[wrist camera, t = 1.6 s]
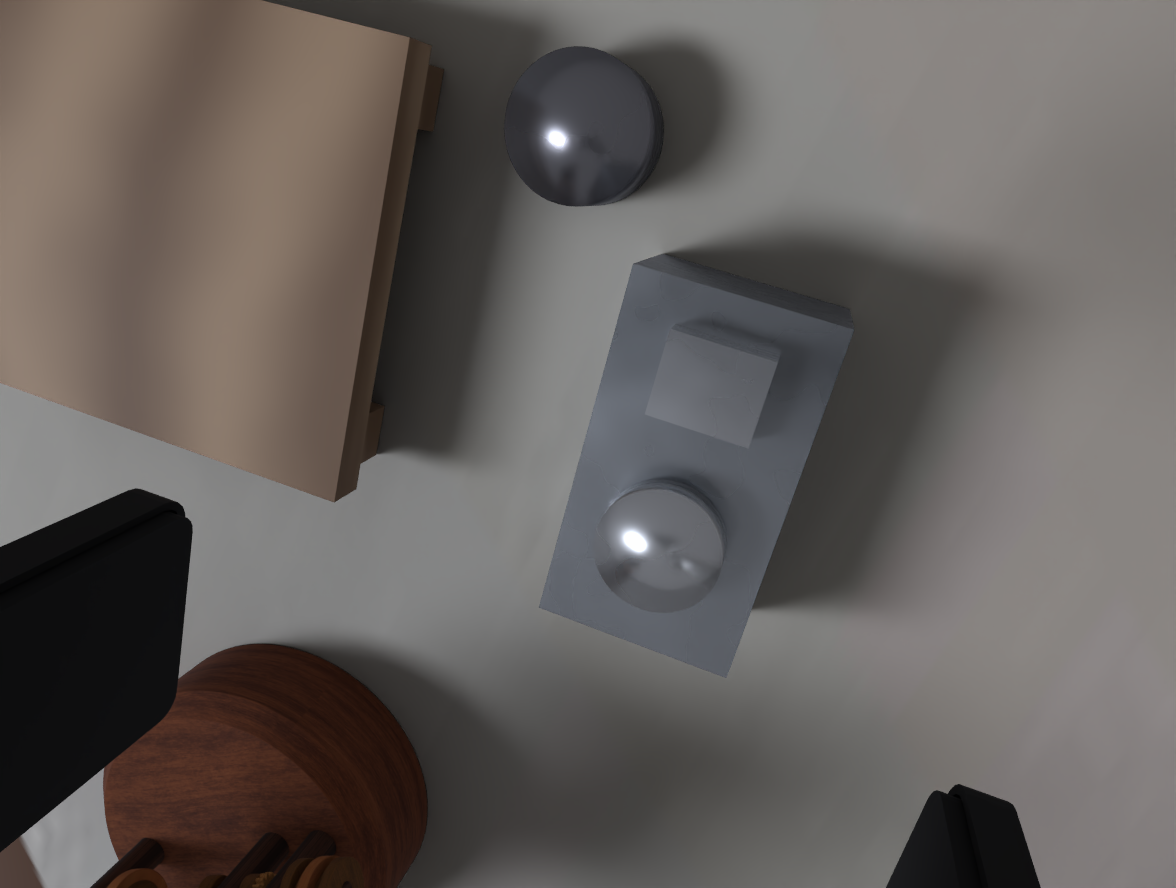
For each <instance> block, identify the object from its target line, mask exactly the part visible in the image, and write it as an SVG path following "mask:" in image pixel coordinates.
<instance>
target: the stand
mask: <svg viewBox="0 0 1176 888" xmlns="http://www.w3.org/2000/svg"><path fill="white" fill-rule="evenodd" d="M431 47H432V46H431V45H428V44H426V43H423V42H421V41H418V40H415V39H413V38H410V37H406V36H402V35H398V34H394V33H390V32H386V31H382V30H378V29H374V28H370V27H366V26H362V25H358V24H354V23H350V22H346V21H342V20H338V19H334V18H330V17H326V16H322V15H318V14H314V13H310V12H306V11H302V10H299V9H295V8H291V7H287V6H283V5H279V4H275V3H271V2H267V1H263V0H0V383H2V384H5V385H8V386H10V387H13V388H16V389H19V390H22V391H24V392H27V393H30V394H33V395H36V396H38V397H41V398H44V399H47V400H50V401H52V402H55V403H58V404H61V405H64V406H66V407H69V408H72V409H75V410H77V411H80V412H83V413H86V414H89V415H91V416H94V417H97V418H100V419H103V420H105V421H108V422H111V423H114V424H117V425H119V426H122V427H125V428H128V429H131V430H133V431H136V432H139V433H142V434H145V435H147V436H150V437H153V438H156V439H158V440H161V441H164V442H167V443H170V444H172V445H175V446H178V447H181V448H184V449H186V450H189V451H192V452H195V453H198V454H200V455H203V456H206V457H209V458H212V459H214V460H217V461H220V462H223V463H226V464H228V465H231V466H234V467H237V468H239V469H242V470H245V471H248V472H251V473H253V474H256V475H259V476H262V477H265V478H267V479H270V480H273V481H276V482H279V483H281V484H284V485H287V486H290V487H293V488H295V489H298V490H301V491H304V492H307V493H309V494H312V495H315V496H318V497H320V498H323V499H326V500H329V501H332V502H336V501H337V500H339V499H341V498H342V497H344V496H345V495H347V494H349V493H350V492H352V491H354V490H355V489H356V487H357V481H358V475H359V470H360V464H361V463H363V462H364V461H366V460H368V459H370V458H371V457H373V456H375V455H376V453H377V447H378V441H379V436H380V430H381V424H382V419H383V413H384V407H385V406H382V405H379V404H376V403H373V402H371V399H372V393H373V387H374V382H375V376H376V370H377V364H378V358H379V352H380V346H381V341H382V335H383V329H384V323H385V317H386V311H387V305H388V300H389V294H390V288H391V282H392V276H393V270H394V264H395V259H396V253H397V247H398V241H399V235H400V229H401V223H402V217H403V212H404V206H405V200H406V194H407V188H408V182H409V176H410V171H411V165H412V159H413V153H414V147H415V141H416V135H417V130H418V129H420V130H426V131H432V132H433V130H434V124H435V118H436V113H437V107H438V101H439V96H440V90H441V84H442V79H443V73H444V69H441V68H438V67H435V66H432V65H429V59H430V53H431Z"/></svg>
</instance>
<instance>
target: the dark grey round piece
mask: <svg viewBox="0 0 1176 888" xmlns="http://www.w3.org/2000/svg"><path fill="white" fill-rule="evenodd" d="M504 131H505V141H506V146H507V151H508V154H509V157H510V160H511V162H512V164H513V166H514V168H515V170H516V171H517V173H518V174H519V176H520V177H521V179H522V180H523V181H524V182H525V183H526V185H527V186H528V187H530V188H531V189H532V190H533V191H534V192H535V193H537V194H538V195H540V196H541V197H543V198H545V199H547V200H549V201H551V202H554V203H557V204H561V205H566V206H597V205H606V204H611V203H614V202H617V201H620V200H622V199H624V198H626V197H627V196H629V195H631V194H632V193H633V192H635V191H636V190H637V189H638V188H639V187H640V186H641V185H643V183H644V182H645V181H646V180H647V179H648V177H649V176H650V174H651V173H652V171H653V170H654V168H655V166H656V163H657V161H658V159H659V156H660V153H661V149H662V144H663V134H664V128H663V118H662V112H661V109H660V105H659V102H658V100H657V98H656V96H655V94H654V92H653V90H652V89H651V87H650V86H649V84H648V83H647V82H646V81H645V80H644V78H643V77H641V76H640V75H639V74H638V73H637V72H636V71H634V70H633V69H631V68H630V67H629V66H627V65H625V64H624V63H622V62H621V61H619V60H618V59H616V58H615V57H613V56H612V55H610V54H608V53H606V52H604V51H601V50H598V49H595V48H589V47H577V46H574V47H566V48H562V49H558V50H555V51H553V52H550V53H548V54H546V55H544V56H543V57H541V58H540V59H538V60H537V61H536V62H534V63H533V64H532V65H531V66H530V67H529V68H528V69H527V70H526V71H525V72H524V73H523V74H522V76H521V77H520V79H519V80H518V81H517V83H516V85H515V87H514V89H513V91H512V93H511V96H510V98H509V101H508V105H507V109H506V114H505V127H504Z"/></svg>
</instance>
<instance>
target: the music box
mask: <svg viewBox="0 0 1176 888" xmlns="http://www.w3.org/2000/svg"><path fill="white" fill-rule="evenodd" d="M103 791H104V805H105V816H106V822H107V827H108V832H109V835H110V839H111V842H112V845H113V847H114V850H115V853H116V855H117V857H118V859H119V861H118V862H117V863H116V864H115V865H114V866H113V867H112V868H111V869H110V870H108V871H107V872H106V873H105V874H104V875H103V876H102V877H101V878H100V879H99V880H98V881H97V882H96V883H95V884H93V885H92V886H91V887H90V888H397V886H398V885H399V883H400V881H401V880H402V878H403V877H404V875H405V873H406V872H407V870H408V869H409V867H410V865H411V864H412V862H413V861H414V859H415V857H416V855H417V854H418V851H419V849H420V847H421V844H422V841H423V838H424V834H425V830H426V824H427V794H426V787H425V782H424V778H423V774H422V771H421V767H420V764H419V762H418V759H417V757H416V754H415V752H414V750H413V748H412V746H411V744H410V742H409V740H408V738H407V736H406V735H405V733H404V731H403V730H402V728H401V727H400V725H399V724H398V722H397V721H396V719H395V718H394V717H393V715H392V714H391V713H390V712H389V710H388V709H387V708H386V707H385V706H384V705H383V703H382V702H381V701H380V700H379V699H378V698H377V697H376V696H375V695H374V694H373V693H372V692H371V691H370V690H368V689H367V688H366V687H365V686H364V685H363V684H361V683H360V682H359V681H358V680H356V679H355V678H354V677H352V676H351V675H350V674H348V673H347V672H345V671H344V670H342V669H340V668H339V667H337V666H335V665H333V664H332V663H330V662H328V661H326V660H324V659H322V658H319V657H317V656H315V655H312V654H310V653H307V652H304V651H301V650H297V649H294V648H289V647H285V646H278V645H269V644H251V645H242V646H237V647H233V648H229V649H226V650H223V651H220V652H218V653H216V654H214V655H212V656H210V657H208V658H206V659H205V660H204V661H202V662H201V663H199V664H198V665H197V666H195V667H194V668H193V669H191V670H190V671H188V672H187V673H186V674H184V675H183V676H182V677H180V678H179V679H178V685H177V693H176V698H175V700H174V703H173V705H172V707H171V709H170V710H169V712H168V713H167V715H166V716H165V717H164V718H163V719H162V720H161V721H160V722H159V723H158V724H157V725H156V726H154V727H153V728H152V729H151V730H150V731H148V732H147V733H146V734H145V735H143V736H142V737H141V738H140V739H138V740H137V741H136V742H135V743H134V744H132V745H131V746H130V747H129V748H127V749H126V750H125V751H124V752H123V753H121V754H120V755H119V756H118V757H116V758H115V759H114V760H113V761H112V762H110V763H109V764H108V765H107V766H105V768H104V777H103Z"/></svg>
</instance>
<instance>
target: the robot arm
mask: <svg viewBox="0 0 1176 888" xmlns="http://www.w3.org/2000/svg"><path fill="white" fill-rule="evenodd" d="M192 533H193V531H192V523H191V521H190V520H189V519H188V518H186V517H185V512H184V509H183V506H181V505H180V504H179V503H178V502H175V501H172V500H170V499H167V498H164V497H161V496H159V495H156V494H153V493H150V492H148V491H145V490H142V489H132V490H128V491H126V492H124V493H121V494H119V495H117V496H115V497H112V498H110V499H108V500H106V501H103V502H101V503H99V504H97V505H94V506H92V507H90V508H88V509H85V510H83V511H81V512H79V513H76V514H74V515H72V516H69V517H67V518H65V519H63V520H60V521H58V522H56V523H54V524H51V525H49V526H47V527H45V528H42V529H40V530H38V531H36V532H33V533H31V534H29V535H27V536H24V537H22V538H20V539H18V540H15V541H13V542H11V543H8V544H6V545H4V546H2V547H0V852H1V851H2V850H4V849H5V848H6V847H7V846H9V845H10V844H11V843H12V842H13V841H15V840H16V839H17V838H18V837H20V836H21V835H22V834H23V833H25V832H26V831H27V830H28V829H29V828H31V827H32V826H33V825H34V824H36V823H37V822H38V821H39V820H40V819H42V818H43V817H44V816H45V815H47V814H48V813H49V812H50V811H51V810H53V809H54V808H55V807H56V806H58V805H59V804H60V803H61V802H63V801H64V800H65V799H66V798H67V797H69V796H70V795H71V794H72V793H74V792H75V791H76V790H77V789H78V788H80V787H81V786H82V785H83V784H85V783H86V782H87V781H88V780H89V779H91V778H92V777H93V776H94V775H96V774H97V773H98V772H99V771H100V770H102V769H103V768H104V767H105V766H107V765H108V764H109V763H110V762H112V761H113V760H114V759H115V758H116V757H118V756H119V755H120V754H121V753H123V752H124V751H125V750H126V749H127V748H129V747H130V746H131V745H132V744H134V743H135V742H136V741H137V740H138V739H140V738H141V737H142V736H143V735H145V734H146V733H147V732H148V731H150V730H151V729H152V728H153V727H154V726H156V725H157V724H158V723H159V722H160V721H161V720H162V719H163V718H164V717H165V716H166V715H167V713H168V712H169V710H170V709H171V707H172V705H173V703H174V700H175V698H176V693H177V685H178V675H179V665H180V655H181V644H182V634H183V624H184V614H185V604H186V594H187V583H188V573H189V563H190V553H191V543H192ZM886 888H1041V887H1040V884H1039V881H1038V878H1037V875H1036V872H1035V868H1034V865H1033V862H1032V859H1031V856H1030V853H1029V849H1028V846H1027V843H1026V840H1025V837H1024V834H1023V831H1022V827H1021V824H1020V821H1019V818H1018V815H1017V812H1016V810H1015V808H1014V806H1013V804H1011V803H1009V802H1007V801H1005V800H1002V799H999V798H996V797H994V796H991V795H988V794H985V793H983V792H980V791H977V790H974V789H971V788H969V787H966V786H963V785H960V784H958V785H955V786H954V787H953V788H952V789H951V790H950V791H949V793H948V794H946V793H943V792H940V791H938V790H936V791H934V792H933V793H932V794H931V795H930V796H929V798H928V800H927V802H926V804H925V806H924V808H923V810H922V812H921V815H920V817H919V819H918V821H917V823H916V825H915V827H914V829H913V831H912V834H911V836H910V838H909V840H908V842H907V844H906V846H905V848H904V851H903V853H902V855H901V857H900V859H899V861H898V863H897V865H896V868H895V870H894V872H893V874H892V876H891V878H890V880H889V882H888V885H887V887H886Z"/></svg>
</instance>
